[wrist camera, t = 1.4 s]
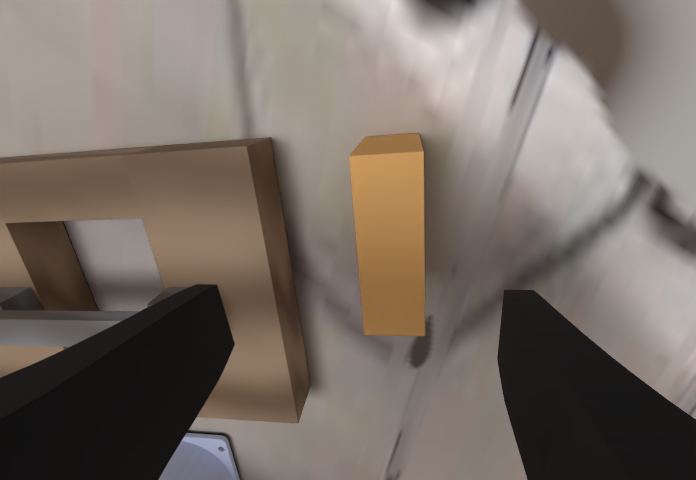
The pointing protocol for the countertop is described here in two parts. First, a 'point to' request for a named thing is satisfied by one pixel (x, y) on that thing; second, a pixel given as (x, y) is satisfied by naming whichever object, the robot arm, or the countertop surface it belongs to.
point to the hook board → (159, 258)
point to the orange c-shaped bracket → (390, 233)
